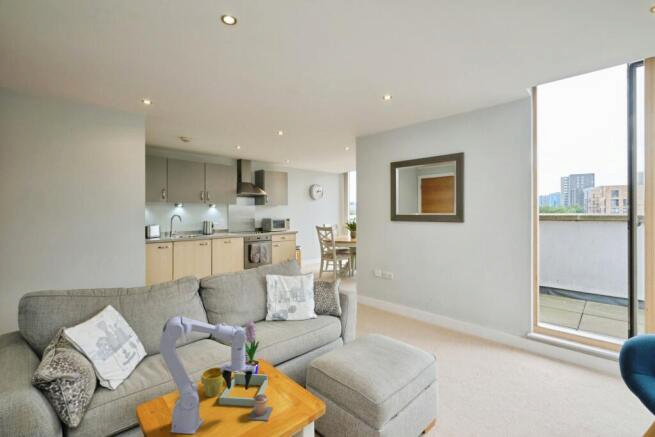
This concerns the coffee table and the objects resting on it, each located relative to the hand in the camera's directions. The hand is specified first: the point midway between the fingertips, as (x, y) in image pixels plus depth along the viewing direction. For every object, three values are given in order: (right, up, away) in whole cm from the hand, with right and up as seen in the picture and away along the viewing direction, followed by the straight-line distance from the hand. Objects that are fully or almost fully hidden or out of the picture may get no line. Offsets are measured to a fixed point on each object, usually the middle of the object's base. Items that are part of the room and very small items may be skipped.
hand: (238, 388), depth 126 cm
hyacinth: (-1, -10, +28) cm, 30 cm away
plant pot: (-16, -10, +14) cm, 23 cm away
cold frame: (-1, -10, +13) cm, 17 cm away
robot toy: (-26, -11, +4) cm, 28 cm away
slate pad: (+10, -10, -1) cm, 14 cm away
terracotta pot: (+10, -10, 0) cm, 14 cm away
